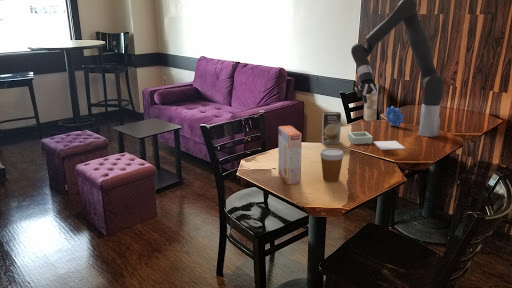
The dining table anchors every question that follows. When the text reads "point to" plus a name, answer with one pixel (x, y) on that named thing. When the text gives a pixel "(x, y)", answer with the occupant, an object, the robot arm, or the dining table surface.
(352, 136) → the sage holder
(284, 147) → the cracker box
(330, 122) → the coffee box
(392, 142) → the grey mat
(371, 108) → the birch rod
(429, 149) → the dining table surface
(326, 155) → the disposable coffee cup
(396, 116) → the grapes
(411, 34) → the robot arm
